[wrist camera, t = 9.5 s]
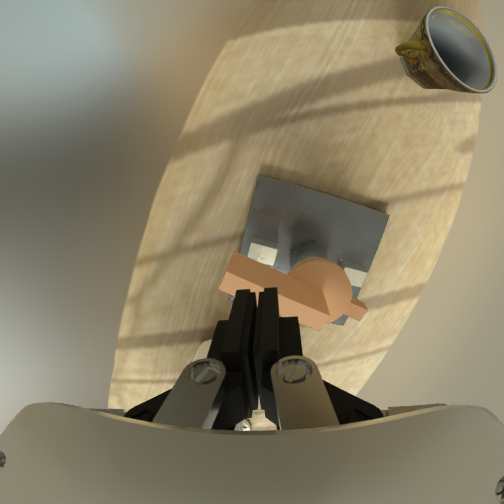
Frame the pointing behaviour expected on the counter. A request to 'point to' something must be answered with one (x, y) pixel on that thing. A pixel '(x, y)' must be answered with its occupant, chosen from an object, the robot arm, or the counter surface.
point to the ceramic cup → (449, 54)
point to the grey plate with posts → (311, 230)
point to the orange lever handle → (298, 289)
